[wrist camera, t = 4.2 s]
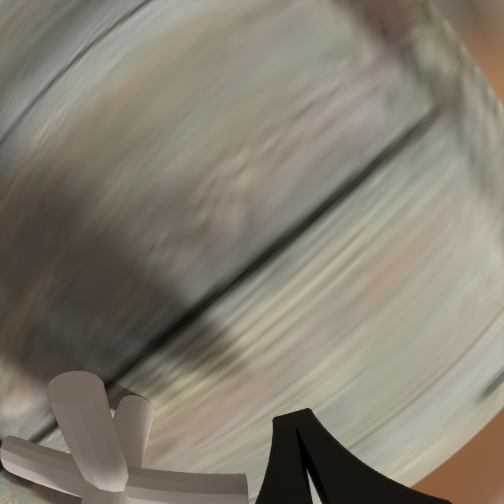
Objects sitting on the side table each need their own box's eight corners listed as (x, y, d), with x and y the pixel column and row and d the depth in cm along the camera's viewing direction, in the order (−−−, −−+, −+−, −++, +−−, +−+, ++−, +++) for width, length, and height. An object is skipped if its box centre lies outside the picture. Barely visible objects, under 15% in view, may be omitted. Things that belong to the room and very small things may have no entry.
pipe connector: (75, 454, 14) (27, 577, 4) (29, 308, 12) (-112, 431, 2) (237, 472, 15) (252, 622, 5) (241, 323, 13) (280, 568, 3)
